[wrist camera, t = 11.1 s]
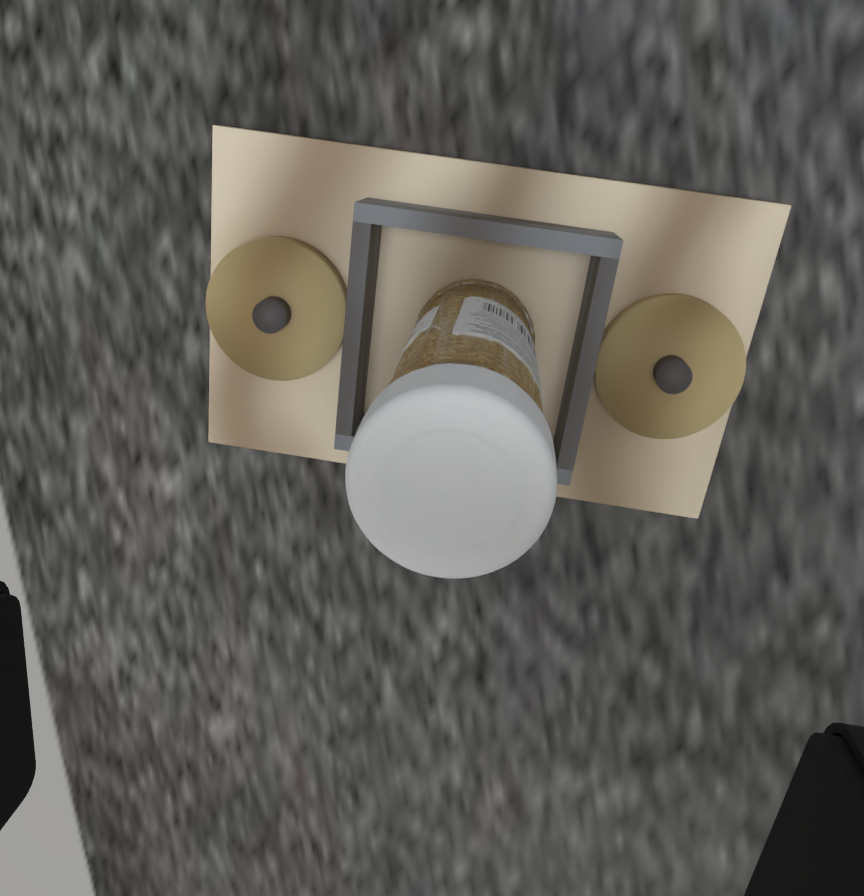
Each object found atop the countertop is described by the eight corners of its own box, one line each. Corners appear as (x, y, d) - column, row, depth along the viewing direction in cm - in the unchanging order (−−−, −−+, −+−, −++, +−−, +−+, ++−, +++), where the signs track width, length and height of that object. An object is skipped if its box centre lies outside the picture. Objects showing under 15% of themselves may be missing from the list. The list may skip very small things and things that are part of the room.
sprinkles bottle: (393, 312, 28) (299, 445, 15) (503, 254, 27) (498, 348, 14) (450, 416, 29) (406, 615, 17) (557, 365, 28) (595, 539, 16)
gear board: (776, 202, 27) (819, 211, 23) (689, 502, 31) (713, 550, 27) (227, 126, 27) (183, 122, 24) (221, 429, 32) (183, 465, 28)
